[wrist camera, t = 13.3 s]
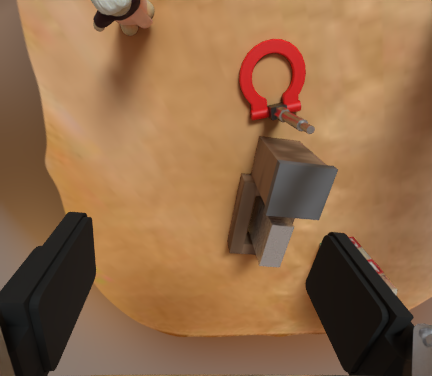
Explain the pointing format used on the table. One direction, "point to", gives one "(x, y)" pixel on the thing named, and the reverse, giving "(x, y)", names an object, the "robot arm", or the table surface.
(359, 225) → the table surface
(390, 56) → the table surface
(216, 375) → the robot arm
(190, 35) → the table surface
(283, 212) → the post socket
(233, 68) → the table surface
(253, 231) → the tall grey box
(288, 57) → the tow hook
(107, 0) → the grandmother figurine
